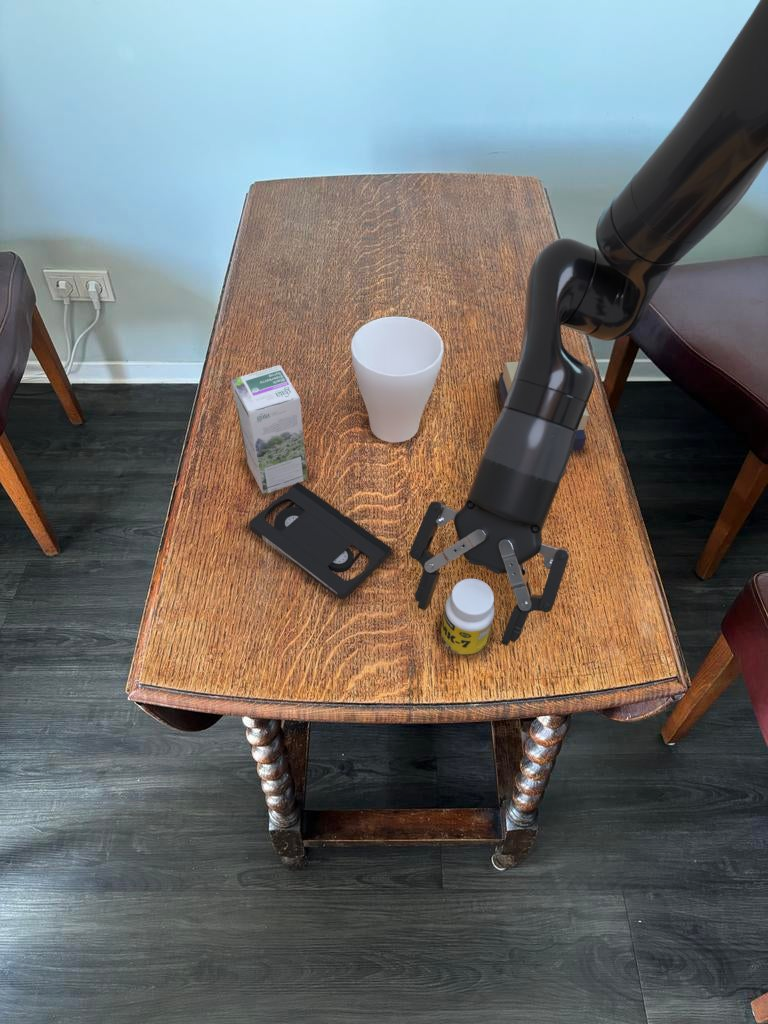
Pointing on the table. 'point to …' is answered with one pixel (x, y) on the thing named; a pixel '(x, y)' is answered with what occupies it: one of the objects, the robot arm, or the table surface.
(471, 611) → the supplement bottle
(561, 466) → the robot arm
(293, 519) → the vhs tape
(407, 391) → the cup
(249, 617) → the table surface
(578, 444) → the book stack
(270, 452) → the syrup box
